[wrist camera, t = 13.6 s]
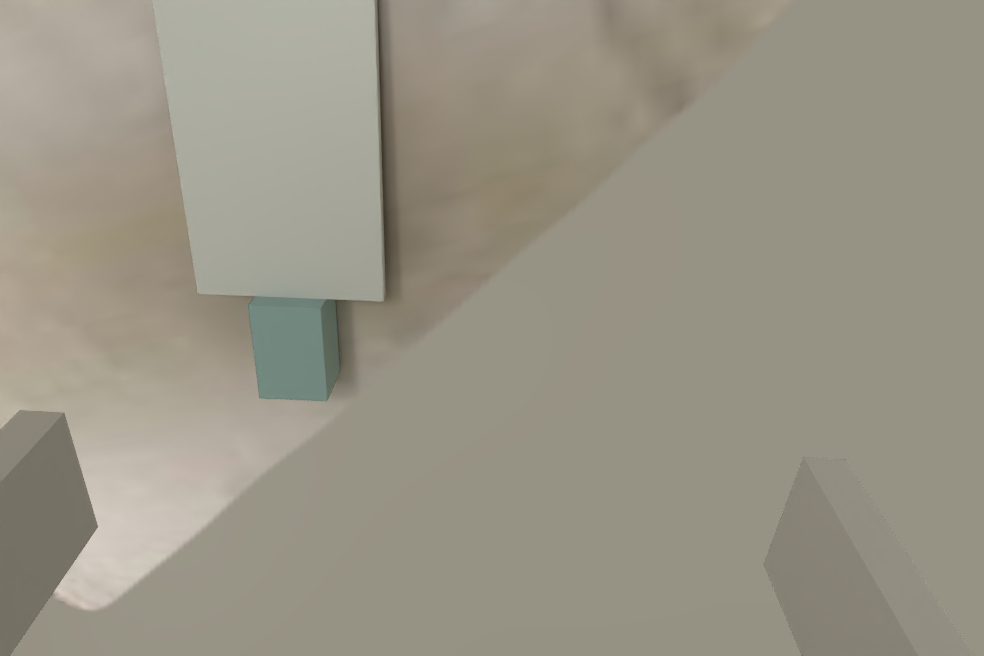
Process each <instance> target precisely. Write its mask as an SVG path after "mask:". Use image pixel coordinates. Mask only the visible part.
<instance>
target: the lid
mask: <svg viewBox="0 0 984 656" xmlns="http://www.w3.org/2000/svg"><path fill="white" fill-rule="evenodd" d="M152 4H153V11H154V17H155V23H156V30H157V36H158V43H159V49H160V55H161V62H162V68H163V75H164V81H165V87H166V94H167V100H168V107H169V113H170V119H171V126H172V132H173V139H174V145H175V152H176V158H177V164H178V171H179V177H180V184H181V190H182V196H183V203H184V209H185V216H186V222H187V228H188V235H189V241H190V248H191V254H192V261H193V267H194V273H195V280H196V286H197V293H198V294H213V295H237V296H255V298H254V299H253V300H252V301H251V303H250V304H249V305H248V308H249V317H250V325H251V333H252V341H253V349H254V357H255V365H256V374H257V382H258V390H259V398H264V399H289V400H314V401H327V400H328V398H329V396H330V393H331V391H332V389H333V387H334V384H335V382H336V380H337V377H338V375H339V373H340V363H339V347H338V331H337V315H336V300H359V301H384V299H385V297H386V290H385V255H384V221H383V186H382V152H381V117H380V83H379V48H378V14H377V0H152Z"/></svg>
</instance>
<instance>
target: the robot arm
mask: <svg viewBox="0 0 984 656" xmlns="http://www.w3.org/2000/svg"><path fill="white" fill-rule="evenodd" d="M97 528H98V525H97V522H96V518H95V515H94V512H93V508H92V505H91V502H90V498H89V495H88V491H87V488H86V485H85V481H84V478H83V475H82V471H81V468H80V464H79V461H78V458H77V454H76V451H75V448H74V444H73V441H72V437H71V434H70V431H69V427H68V424H67V420H66V417H65V414H64V413H59V412H42V411H26V410H20V411H19V412H18V413H17V414H16V415H15V416H14V417H13V418H12V419H11V420H10V421H9V422H8V423H6V424H5V425H4V426H3V427H2V428H1V429H0V656H10V655H11V654H12V652H13V651H14V649H15V648H16V646H17V645H18V643H19V642H20V640H21V639H22V637H23V636H24V635H25V633H26V631H27V630H28V629H29V627H30V626H31V624H32V623H33V621H34V620H35V618H36V617H37V615H38V614H39V612H40V611H41V610H42V608H43V607H44V605H45V604H46V602H47V601H48V599H49V598H50V596H51V595H52V594H53V592H54V591H55V589H56V588H57V586H58V585H59V583H60V582H61V580H62V579H63V577H64V576H65V574H66V573H67V572H68V570H69V569H70V567H71V566H72V564H73V563H74V561H75V560H76V558H77V557H78V555H79V554H80V553H81V551H82V550H83V548H84V547H85V545H86V544H87V542H88V541H89V539H90V538H91V536H92V535H93V533H94V532H95V531H96V529H97ZM764 566H765V569H766V571H767V574H768V576H769V579H770V581H771V583H772V586H773V588H774V591H775V593H776V595H777V598H778V600H779V603H780V605H781V607H782V610H783V612H784V615H785V617H786V619H787V622H788V624H789V627H790V629H791V631H792V634H793V636H794V639H795V641H796V644H797V646H798V648H799V651H800V653H801V656H974V655H973V653H972V652H971V651H970V649H969V647H968V646H967V644H966V643H965V641H964V640H963V638H962V637H961V635H960V634H959V632H958V631H957V629H956V627H955V626H954V624H953V623H952V621H951V620H950V618H949V617H948V615H947V614H946V612H945V611H944V609H943V608H942V606H941V605H940V603H939V602H938V600H937V599H936V597H935V596H934V594H933V593H932V591H931V589H930V588H929V586H928V585H927V584H926V582H925V580H924V579H923V577H922V576H921V574H920V573H919V571H918V570H917V568H916V567H915V565H914V563H913V562H912V560H911V559H910V557H909V556H908V554H907V553H906V551H905V550H904V548H903V547H902V545H901V544H900V542H899V541H898V539H897V538H896V536H895V535H894V533H893V532H892V530H891V528H890V527H889V525H888V524H887V522H886V521H885V519H884V518H883V516H882V515H881V513H880V512H879V510H878V508H877V507H876V506H875V504H874V502H873V501H872V499H871V498H870V497H869V495H868V493H867V492H866V490H865V489H864V487H863V486H862V484H861V483H860V481H859V480H858V478H857V476H856V475H855V473H854V472H853V470H852V469H851V467H850V466H849V464H848V463H847V461H846V460H843V459H827V458H810V457H803V460H802V462H801V465H800V468H799V470H798V473H797V476H796V478H795V481H794V484H793V486H792V489H791V492H790V495H789V498H788V500H787V503H786V506H785V509H784V511H783V514H782V516H781V519H780V522H779V524H778V527H777V530H776V532H775V535H774V538H773V540H772V543H771V546H770V549H769V552H768V554H767V557H766V559H765V562H764Z"/></svg>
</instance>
